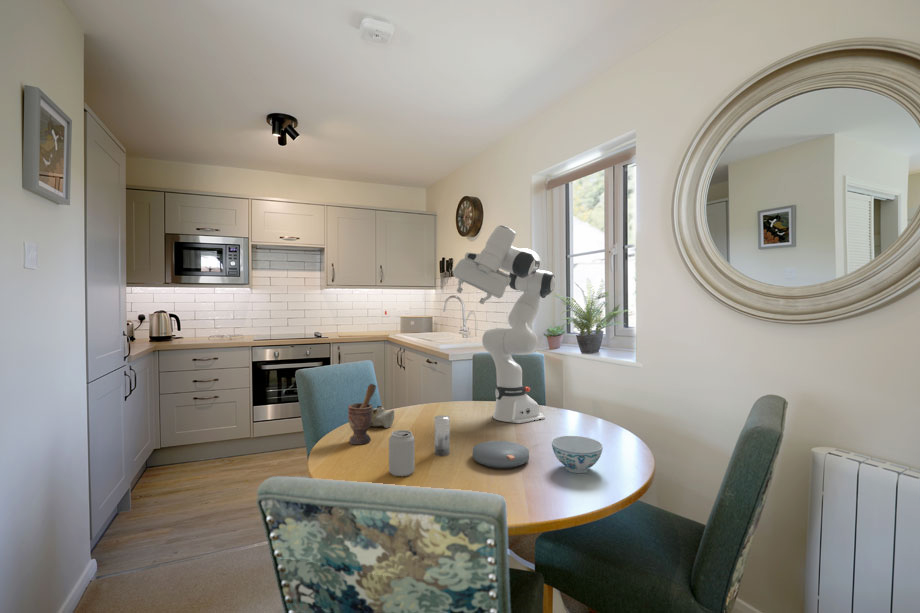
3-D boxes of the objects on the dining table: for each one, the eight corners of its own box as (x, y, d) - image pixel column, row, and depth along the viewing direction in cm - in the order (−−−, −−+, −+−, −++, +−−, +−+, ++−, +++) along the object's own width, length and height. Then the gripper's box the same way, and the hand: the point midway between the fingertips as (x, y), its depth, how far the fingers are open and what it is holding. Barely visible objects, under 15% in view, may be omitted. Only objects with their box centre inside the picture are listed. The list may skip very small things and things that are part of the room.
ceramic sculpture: (386, 409, 166) (354, 408, 171) (387, 431, 166) (355, 429, 171) (400, 403, 176) (369, 402, 181) (401, 424, 176) (370, 422, 181)
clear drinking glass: (447, 449, 146) (447, 414, 146) (451, 454, 141) (451, 418, 141) (433, 451, 144) (433, 416, 144) (436, 456, 139) (437, 420, 139)
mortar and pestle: (357, 434, 162) (357, 382, 162) (379, 435, 161) (379, 383, 160) (344, 444, 151) (344, 388, 150) (367, 446, 149) (367, 389, 149)
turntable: (464, 450, 142) (464, 442, 142) (513, 444, 148) (513, 436, 148) (485, 470, 125) (485, 461, 125) (539, 462, 131) (539, 454, 131)
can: (409, 479, 122) (409, 437, 121) (385, 476, 123) (385, 435, 123) (417, 469, 129) (417, 429, 129) (394, 467, 130) (394, 428, 130)
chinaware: (572, 482, 119) (572, 455, 119) (541, 463, 133) (541, 439, 133) (613, 473, 125) (613, 447, 125) (580, 456, 139) (580, 433, 139)
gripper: (513, 279, 156) (495, 312, 154) (465, 257, 161) (447, 288, 159) (512, 273, 150) (494, 308, 148) (462, 250, 155) (444, 283, 153)
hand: (469, 297), depth 153 cm, fingers open, 8 cm apart
